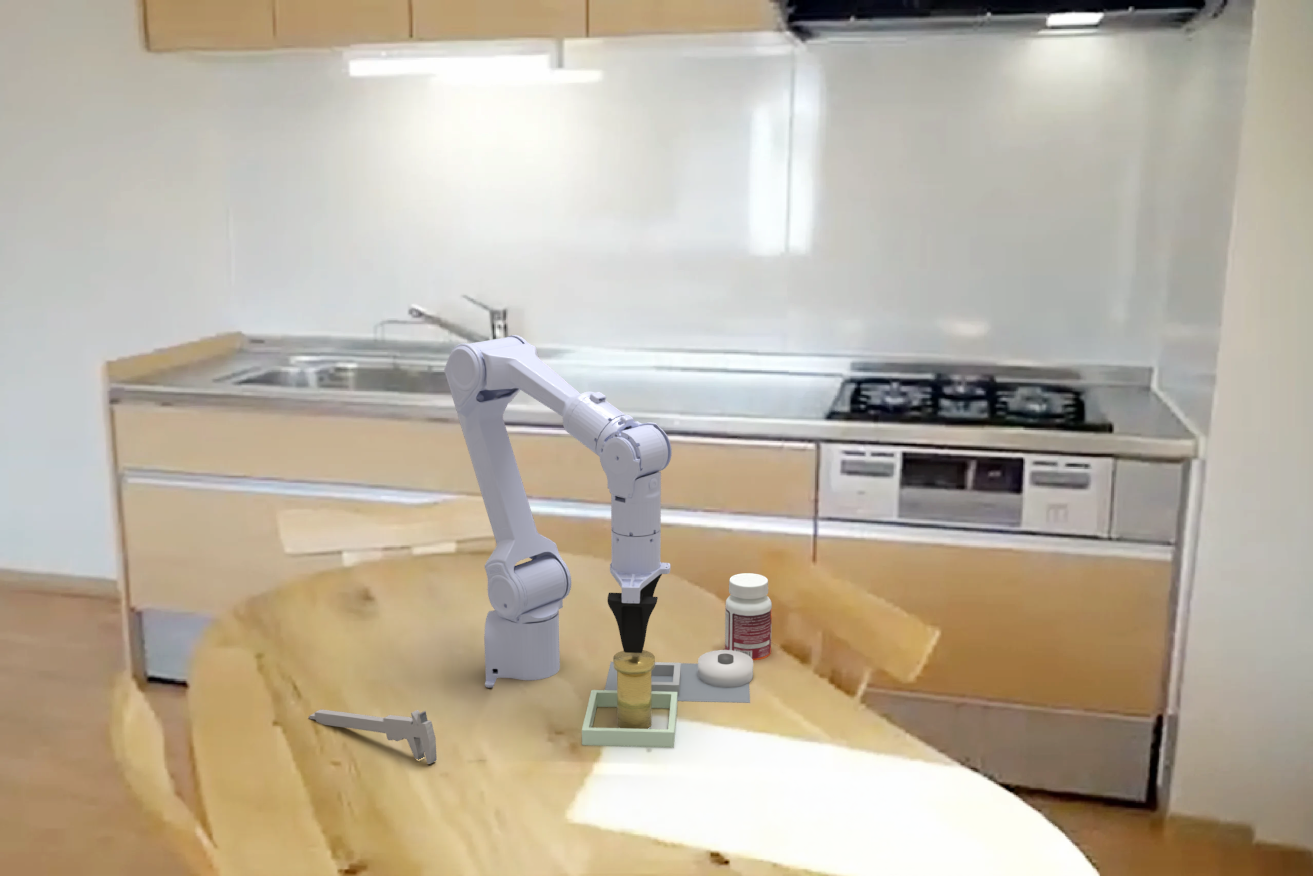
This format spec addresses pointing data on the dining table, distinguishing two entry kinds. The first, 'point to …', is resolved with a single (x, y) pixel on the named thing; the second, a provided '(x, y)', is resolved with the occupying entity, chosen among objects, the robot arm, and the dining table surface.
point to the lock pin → (634, 689)
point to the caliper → (389, 728)
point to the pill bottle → (748, 616)
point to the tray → (627, 734)
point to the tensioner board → (693, 687)
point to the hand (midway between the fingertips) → (636, 638)
